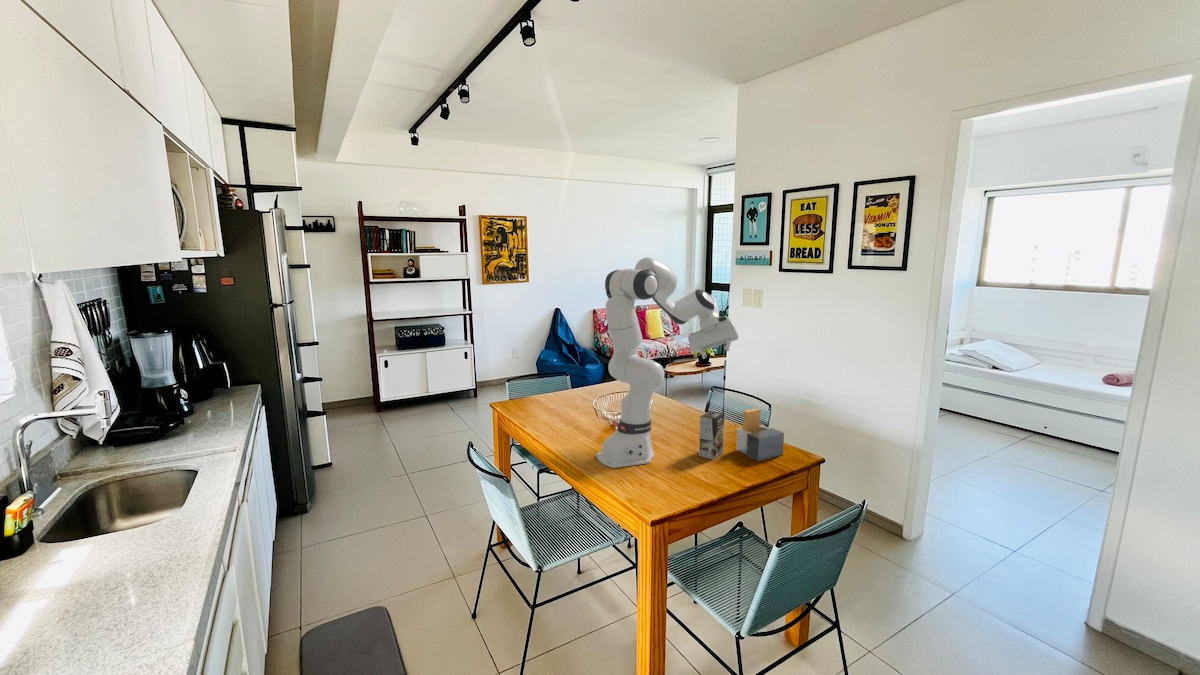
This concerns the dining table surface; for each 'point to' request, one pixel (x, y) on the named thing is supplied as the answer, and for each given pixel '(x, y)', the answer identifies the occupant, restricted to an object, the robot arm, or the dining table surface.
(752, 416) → the breaker paddle
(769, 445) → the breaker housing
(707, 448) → the coffee box
